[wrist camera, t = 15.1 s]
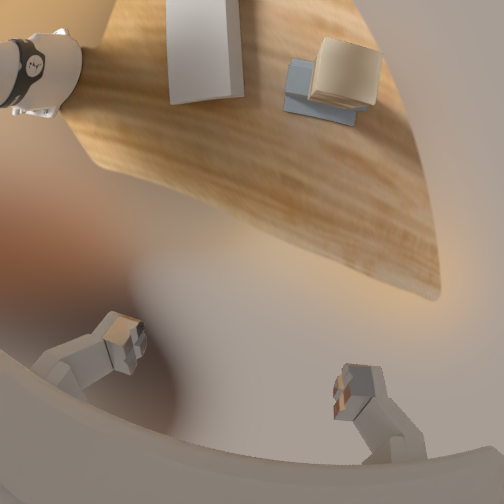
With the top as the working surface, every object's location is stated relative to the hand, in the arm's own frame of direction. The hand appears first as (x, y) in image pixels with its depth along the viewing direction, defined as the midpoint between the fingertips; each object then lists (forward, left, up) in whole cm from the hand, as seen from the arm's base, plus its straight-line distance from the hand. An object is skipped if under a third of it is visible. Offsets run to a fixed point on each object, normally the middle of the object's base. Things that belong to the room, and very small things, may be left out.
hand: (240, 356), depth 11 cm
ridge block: (+4, +13, -34) cm, 37 cm away
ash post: (+4, +13, -27) cm, 30 cm away
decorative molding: (-16, +26, -35) cm, 46 cm away
